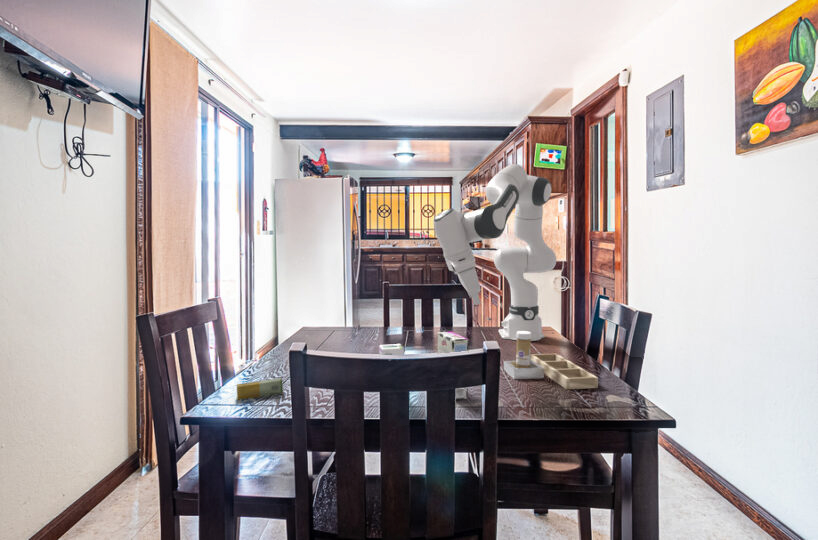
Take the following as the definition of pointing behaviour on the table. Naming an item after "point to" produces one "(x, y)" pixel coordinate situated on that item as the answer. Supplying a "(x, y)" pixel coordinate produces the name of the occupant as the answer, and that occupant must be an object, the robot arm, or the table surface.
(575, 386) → the wooden compartment tray
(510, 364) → the socket block
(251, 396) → the medication box
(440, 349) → the candy bar box
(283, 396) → the table surface
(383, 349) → the syrup box
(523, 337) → the sprinkles bottle
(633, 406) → the table surface
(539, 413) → the table surface
